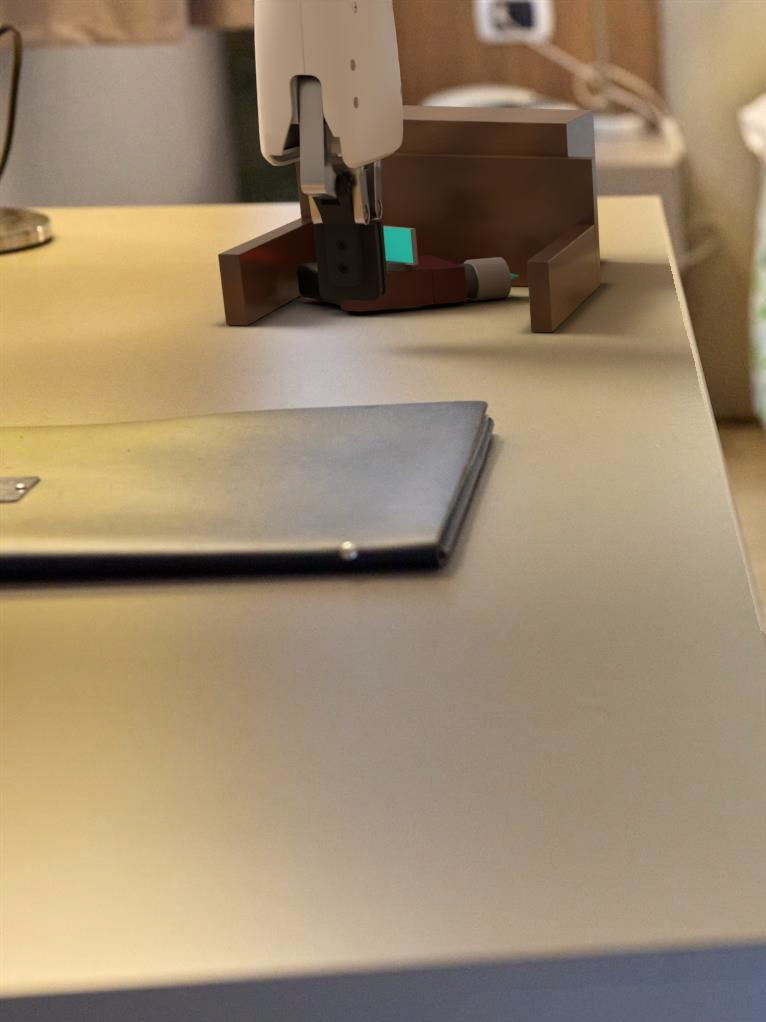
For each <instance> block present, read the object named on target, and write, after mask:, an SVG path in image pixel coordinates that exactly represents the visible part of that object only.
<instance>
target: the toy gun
mask: <svg viewBox="0 0 766 1022" xmlns="http://www.w3.org/2000/svg"><path fill="white" fill-rule="evenodd" d="M383 228H384V241H385V254H386V267H387V280H388V292H387V294H386V295H384V296H382V297H380V298H379V299H377V300H375V301H363V300H328V299H324V298H323V297H322V296H321V295H320V292H319V281H318V270H317V262H313V263H303V264H301V265H299V266H298V268H297V275H298V285H299V292H300V294H301V295H300V296H302V297H303V298H305V299H310V300H315V301H319V302H320V301H321V302H326V303H329V304H330V303H331V304H335V305H337V306H340V309H341V310H342V311H345V312H369V311H370V312H371V311H381V310H388V309H391V310H392V309H400V308H410V307H419V306H428V305H444V304H452V303H453V304H454V303H463V302H468V299H469V300H470V301H471V302H478V301H488V300H497V299H499V300H500V299H506V298H508V297H509V296H510V294H511V290H512V286H511V279H514V278H516V277H518V275H514V274H511V273H510V271H509V268H508V265H507V263H506V262H505V260H504V259H503V258H501V257H495V258H484V259H473V260H466V261H465V262H464V264H455V263H452V262H449V261H446V260H443V259H440V258H437V257H434V256H431V255H427V256H419V257H418V255H417V242H416V230H415V228H404V227H394V226H383Z"/></svg>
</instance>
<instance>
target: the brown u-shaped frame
mask: <svg viewBox="0 0 766 1022" xmlns="http://www.w3.org/2000/svg"><path fill="white" fill-rule="evenodd" d="M402 105H403V140H402V143H401V146H400V147H399V148H398V149H397V150H396V151H395V152H394V153H392V154H391V155H389V156H387V157H385V158H383V159H384V171H383V173H382V174H381V175H382V204H383V213H382V218H381V220H372V221H383V226H394V227H404V228H415V230H416V242H417V255H418V257H419V256H427V255H431V256H434V257H437V258H440V259H443V260H446V261H449V262H452V263H455V264H464V262H465V261H466V260H473V259H484V258H495V257H501V258H503V259H504V260H505V262H506V263H507V265H508V268H509V271H510V273H511V274H514V275H518V277H516V278H514V279H511V287H514V286H515V287H528V288H527V289H528V303H529V304H528V305H529V317H530V318H529V319H530V332H531V333H553V332H554V331H555V330H556V329H557V328H558V327H559V326H560V325H561V324H562V323H563V322H565V320H566V319H567V318H568V317H569V316H570V315H571V314H572V313H573V312H574V311H576V309H578V307H580V306H581V304H583V302H584V301H585V300H586V299H588V298H589V297H590V296H591V295H592V294H593V293H594V292H595V291H596V290H597V289H598V288H599V287H600V286H601V285H602V275H601V274H602V273H601V249H600V246H601V245H600V228H599V227H600V226H599V207H598V205H599V204H598V185H597V164H596V145H595V144H596V142H595V141H596V140H595V122H594V121H595V120H594V119H595V118H594V110H593V109H570V108H569V109H565V108H562V109H561V108H529V107H528V108H527V107H526V108H524V107H487V106H485V107H484V106H449V105H448V106H446V105H444V106H443V105H407V104H406V105H404V104H402ZM337 157H338V156H337ZM295 171H296V181H297V182H296V183H297V191H298V200H299V210H300V217H299V218H296V219H295V220H292V221H290V222H288V223H286V224H284V225H283V224H282V225H281V226H279V227H277V228H274V229H272V230H270V231H267V232H265V233H263V234H261V235H259V236H256V237H254V238H252V239H250V240H247V241H245V242H243V243H240V244H238V245H236V246H234V247H232V248H229V249H227V250H225V251H222V252H220V253H218V254H217V257H218V266H219V277H220V283H221V292H222V300H223V302H222V303H223V309H224V319H225V325H226V326H245V327H246V326H249V325H250V324H252V323H254V322H256V321H257V320H259V319H261V318H262V317H265V316H267V315H268V314H269V313H271V312H273V311H276V310H278V309H279V308H280V307H283V306H284V305H286V304H288V303H290V302H291V301H294V300H295V299H296V298H299V297H300V296H302V295H301V294H300V292H299V285H298V275H297V268H298V266H299V265H301V264H303V263H313V262H317V258H316V247H315V236H314V225H313V221H312V217H311V210H310V203H309V196H308V195H307V194H304V193H303V192H302V189H301V184H300V161H297V162H295Z"/></svg>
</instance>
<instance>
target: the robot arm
mask: <svg viewBox="0 0 766 1022" xmlns="http://www.w3.org/2000/svg"><path fill="white" fill-rule="evenodd" d="M253 7H254V10H253V11H254V12H253V13H254V15H253V17H254V19H253V20H254V22H253V23H254V24H253V25H254V55H255V58H254V59H255V74H256V76H255V77H256V95H257V96H256V97H257V98H256V99H257V113H258V114H257V115H258V131H259V144H260V152H261V155H262V157H263V158H264V159H265V160H266V161H267V162H268V163H269V164H271V166H275V167H284V166H287V165H291V164H294V163H296V162H297V161H300V184H301V189H302V192H303V193H304V194H307V195H308V196H309V203H310V210H311V217H312V221H313V225H314V236H315V247H316V258H317V270H318V281H319V292H320V295H321V296H322V297H323V298H324V299H328V300H363V301H375V300H377V299H379V298H380V297H382V296H384V295H386V294H387V292H388V280H387V267H386V254H385V241H384V228H383V221H372V220H381V218H382V213H383V204H382V175H381V174H382V173H383V171H384V159H383V158H385V157H387V156H389V155H391V154H392V153H394V152H395V151H396V150H397V149H398V148H399V147H400V146H401V143H402V140H403V105H404V104H403V91H402V79H401V68H400V59H399V58H400V57H399V56H400V55H399V49H398V39H397V29H396V23H395V15H394V2H393V0H254V6H253ZM337 156H338V157H337Z"/></svg>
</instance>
